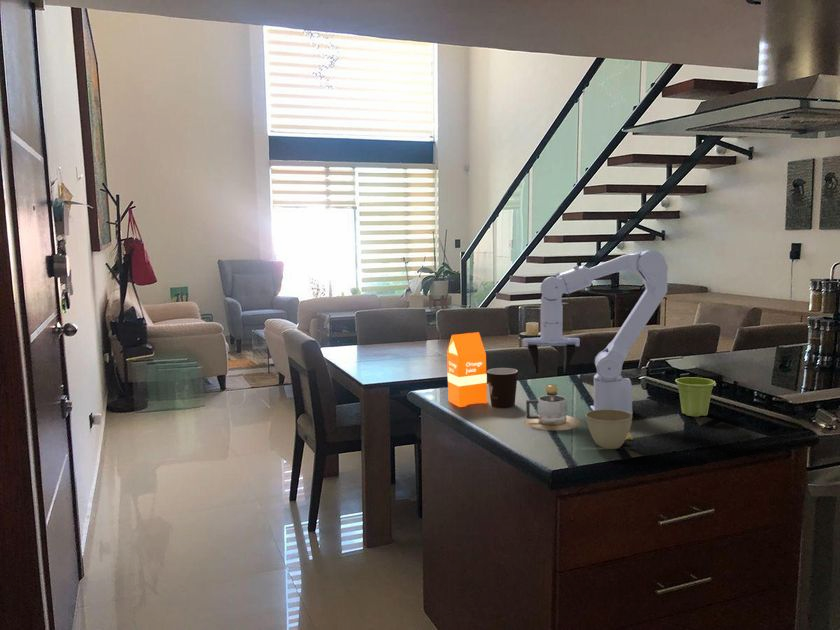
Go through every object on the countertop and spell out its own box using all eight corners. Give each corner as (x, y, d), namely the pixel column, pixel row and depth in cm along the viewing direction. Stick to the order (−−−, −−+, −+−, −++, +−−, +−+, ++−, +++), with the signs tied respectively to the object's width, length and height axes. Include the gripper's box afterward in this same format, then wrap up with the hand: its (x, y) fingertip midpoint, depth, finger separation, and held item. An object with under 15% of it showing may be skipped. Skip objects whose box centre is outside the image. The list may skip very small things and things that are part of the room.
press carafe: (564, 417, 168) (563, 394, 168) (568, 425, 161) (568, 401, 161) (525, 418, 169) (525, 395, 168) (528, 426, 162) (527, 402, 161)
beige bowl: (623, 437, 152) (623, 407, 151) (639, 452, 142) (639, 419, 141) (580, 439, 152) (580, 409, 151) (593, 454, 142) (593, 421, 141)
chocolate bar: (628, 427, 161) (628, 418, 161) (635, 443, 149) (635, 433, 149) (617, 427, 161) (617, 418, 161) (623, 442, 150) (623, 433, 149)
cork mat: (575, 415, 172) (575, 413, 172) (585, 431, 158) (585, 429, 158) (521, 416, 173) (521, 414, 173) (527, 432, 159) (527, 430, 159)
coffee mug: (517, 410, 178) (516, 374, 177) (485, 410, 180) (484, 374, 179) (519, 399, 190) (519, 365, 188) (490, 399, 191) (489, 365, 190)
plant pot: (678, 407, 175) (678, 375, 174) (717, 411, 170) (717, 378, 169) (671, 416, 167) (672, 383, 166) (712, 420, 162) (712, 386, 161)
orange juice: (487, 403, 187) (485, 333, 185) (459, 407, 184) (457, 336, 182) (475, 397, 195) (473, 330, 192) (448, 401, 191) (445, 333, 189)
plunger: (561, 408, 167) (560, 383, 166) (564, 413, 162) (563, 387, 161) (540, 408, 168) (540, 383, 167) (543, 414, 162) (542, 388, 162)
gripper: (525, 324, 171) (525, 375, 172) (582, 324, 170) (581, 375, 171) (522, 320, 178) (522, 370, 179) (577, 320, 177) (576, 370, 178)
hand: (551, 372), depth 176 cm, fingers open, 7 cm apart
